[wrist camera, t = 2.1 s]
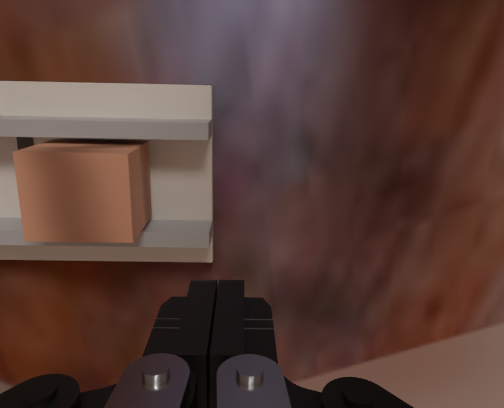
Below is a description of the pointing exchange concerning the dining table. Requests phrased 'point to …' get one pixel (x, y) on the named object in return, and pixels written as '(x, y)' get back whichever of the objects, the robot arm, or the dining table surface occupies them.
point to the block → (84, 190)
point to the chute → (119, 129)
